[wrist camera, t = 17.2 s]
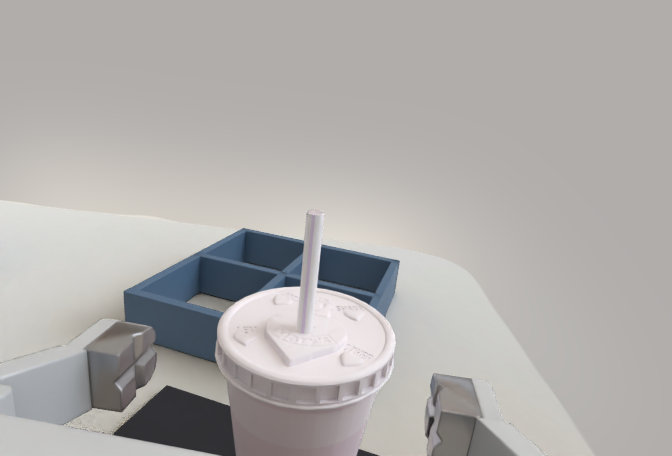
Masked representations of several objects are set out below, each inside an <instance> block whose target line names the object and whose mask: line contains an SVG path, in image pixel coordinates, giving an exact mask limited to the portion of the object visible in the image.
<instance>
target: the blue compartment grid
mask: <svg viewBox="0 0 672 456" xmlns="http://www.w3.org/2000/svg"><path fill="white" fill-rule="evenodd" d="M303 250H304V241H303V240H298V239H293V238H288V237H283V236H279V235H274V234H269V233H264V232H260V231H255V230H250V229H245V228H243V229H241V230H239V231H237V232H235V233H233V234H232V235H230V236H228V237H226V238H224V239H222V240H220V241H218V242H216V243H215V244H213V245H211V246H209V247H207V248H205V249H203V250H201V251H199V252H197V253H196V254H194V255H192V256H190V257H188V258H186V259H184V260H182V261H181V262H179V263H177V264H175V265H173V266H171V267H169V268H167V269H165V270H164V271H162V272H160V273H158V274H156V275H154V276H152V277H150V278H148V279H147V280H145V281H143V282H141V283H139V284H137V285H135V286H133V287H131V288H129V289H127V290H125V291H124V307H125V322H131V323H136V324H141V325H147V326H152V327H153V328H154V329H155V333H156V341H155V342H154V344H157V345H161V346H164V347H167V348H170V349H174V350H177V351H180V352H184V353H187V354H190V355H193V356H197V357H200V358H203V359H206V360H210V361H213V362H216V363H217V361H216V358H215V349H216V341H217V327H218V323H219V321H220V318H221V317H222V315H223V314H224V313H223V312H219V311H216V310H212V309H208V308H205V307H201V306H197V305H193V304H190V303H186V301H188V300H189V299H190V298H192V297H193V296H195V295H196V294H198V293H199V292H201V293H205V294H209V295H213V296H217V297H221V298H224V299H228V300H232V301H236V302H237V301H239V300H241V299H243V298H245V297H247V296H249V295H252V294H254V293H257V292H261V291H265V290H269V289H275V288H282V287H300V284H301V273H302V261H303ZM244 262H248V263H252V264H256V265H261V266H265V267H269V268H274V269H278V270H282V271H277V270H273V269H269V268H264V267H260V266H256V265H251V264H247V263H244ZM399 263H400V261H398V260H393V259H388V258H384V257H379V256H374V255H369V254H365V253H360V252H355V251H350V250H346V249H341V248H336V247H331V246H326V245H322V244H321V252H320V262H319V272H318V279H321V280H325V281H330V282H334V283H338V284H343V285H347V286H351V287H356V288H360V289H364V290H368V291H373V292H375V293H372V292H368V291H363V290H359V289H355V288H350V287H346V286H342V285H337V284H333V283H329V282H325V281H320V280H318V282H317V288H321V289H327V290H332V291H336V292H340V293H343V294H346V295H349V296H352V297H354V298H357V299H359V300H361V301H363V302H365V303H367V304H368V305H370V306H371V307H373V308H375V309H376V310H377V311H378V312H379V313H381V314H382V315H383V316H384V317H385V314H386V312H387V310H388V307H389V305H390V303H391V300H392V298H393V296H394V293H395V287H396V281H397V275H398V269H399Z"/></svg>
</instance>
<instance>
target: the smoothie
mask: <svg viewBox="0 0 672 456" xmlns="http://www.w3.org/2000/svg"><path fill="white" fill-rule="evenodd" d="M323 223H324V212H322V211H319V210H308V211H307V216H306V227H305V238H304V250H303V261H302V273H301V284H300V287H282V288H275V289H269V290H265V291H261V292H257V293H254V294H252V295H249V296H247V297H245V298H243V299H241V300H239V301H237V302H236V303H234V304H233V305H232V306H231V307H229V308H228V309H227V310H226V311H225V313H224V314H223V315H222V317H221V318H220V321H219V323H218V327H217V341H216V349H215V358H216V361H217V364H218V367H219V370H220V372H221V373H222V374H223V375H224V376H225V378H226V379H227V384H228V395H229V403H230V409H231V418H232V426H233V435H234V443H235V452H236V456H357V453H358V449H359V446H360V443H361V440H362V437H363V434H364V431H365V427H366V424H367V421H368V418H369V415H370V413H371V409H372V406H373V403H374V399H375V396H376V393H377V392H378V391H379V390H380V389H381V388H382V386H383V385H384V384H385V383H386V382H387V381H388V380H389V378H390V376H391V373H392V370H393V367H394V357H393V356H394V350H395V345H396V339H395V334H394V331H393V329H392V327H391V325H390V323H389V322H388V321H387V320H386V318H385V317H384V316H383V315H382V314H381V313H379V312H378V311H377V310H376V309H375V308H373V307H371V306H370V305H368V304H367V303H365V302H363V301H361V300H359V299H357V298H354V297H352V296H349V295H346V294H343V293H340V292H336V291H332V290H327V289H321V288H317V282H318V272H319V262H320V252H321V242H322V233H323Z"/></svg>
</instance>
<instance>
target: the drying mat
mask: <svg viewBox="0 0 672 456" xmlns="http://www.w3.org/2000/svg"><path fill="white" fill-rule="evenodd" d="M113 435H115V436H120V437H126V438H131V439H136V440H141V441H146V442H152V443H157V444H162V445H167V446H173V447H178V448H183V449H188V450H194V451H199V452H204V453H209V454H215V455H220V456H236V452H235V443H234V435H233V426H232V418H231V409H230V406H228V405H225V404H222V403H219V402H216V401H213V400H210V399H207V398H204V397H201V396H198V395H195V394H192V393H189V392H186V391H183V390H180V389H177V388H174V387H171V386H165V387H164V388H163V389H162V390H161V391H160V392H159V393H158V394H157V395H156V396H154V397H153V398H152V399H151V400H150V401H149V402H148V403H147V404H146V405H145V406H143V407H142V408H141V409H140V410H139V411H138V412H137V413H136V414H135V415H134V416H132V417H131V418H130V419H129V420H128V421H127V422H126V423H125V424H124V425H123V426H121V427H120V428H119V429H118V430H117V431H116V432H115V433H114V434H113ZM357 456H378V455H375V454H372V453H369V452H366V451H363V450H360V449H358V453H357Z"/></svg>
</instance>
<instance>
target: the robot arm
mask: <svg viewBox="0 0 672 456" xmlns="http://www.w3.org/2000/svg"><path fill="white" fill-rule="evenodd" d="M155 341H156V333H155V329H154V328H153V327H152V326H147V325H141V324H136V323H131V322H125V321H119V320H114V319H108V318H104V319H100V320H99V321H97V322H96V323H95V324H93V325H92V326H91V327H89V328H88V329H87V330H85V331H84V332H83V333H81V334H80V335H79V336H77V337H76V338H75V339H73V340H72V341H71V342H69V343H68V344H67V345H65V346H56V347H52V348H49V349H46V350H42V351H39V352H35V353H32V354H29V355H25V356H22V357H19V358H15V359H12V360H9V361H5V362H2V363H0V456H220V455H215V454H209V453H204V452H199V451H194V450H188V449H183V448H178V447H173V446H167V445H162V444H157V443H152V442H146V441H141V440H136V439H131V438H126V437H120V436H115V435H110V434H105V433H99V432H94V431H89V430H84V429H78V428H73V427H68V426H63V425H64V424H66V423H68V422H70V421H71V420H73V419H75V418H77V417H79V416H81V415H82V414H84V413H86V412H88V411H90V410H92V408H97V409H103V410H110V411H116V412H123V410H124V409H125V408H126V407H127V406H128V405H129V404H130V402H131V401H132V400H133V399H134V398H135V397H136V389H138V388H141V387H143V386H145V385H146V384H147V383H148V381H149V380H150V379H151V377H152V375H153V372H154V370H155V367H156V361H157V357H156V352H155V350H154V349H153V347H152V346H151V345H152V344H153V343H154V342H155ZM430 388H431V397H430V398H429V399H427V405H426V411H425V436H426V437H427V438H428V444H427V456H548V455H546V454H545V453H544V452H543V451H542V450H541V449H539V448H538V447H537V446H536V445H535V444H534V443H533V442H531V441H530V440H529V439H528V438H527V437H526V436H524V435H523V434H522V433H521V432H520V431H519V430H518V429H516V428H515V427H514V426H513V425H512V424H511V423H507V422H505V421H504V419H503V416H502V413H501V410H500V407H499V404H498V402H497V399H496V396H495V393H494V390H493V388H492V385H491V383H490V382H489V381H487V380H479V379H471V378H470V379H469V378H462V377H455V376H449V375H442V374H435V373H433V376H432V380H431V384H430Z"/></svg>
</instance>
